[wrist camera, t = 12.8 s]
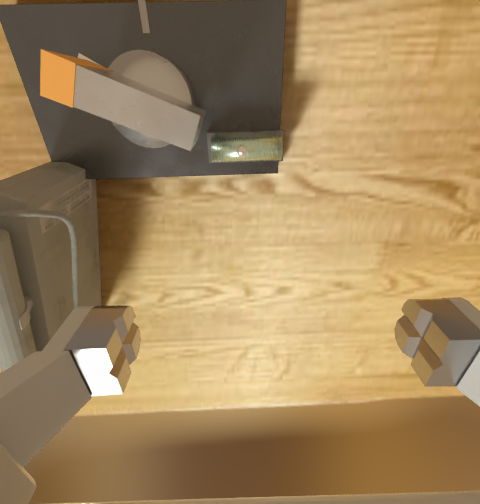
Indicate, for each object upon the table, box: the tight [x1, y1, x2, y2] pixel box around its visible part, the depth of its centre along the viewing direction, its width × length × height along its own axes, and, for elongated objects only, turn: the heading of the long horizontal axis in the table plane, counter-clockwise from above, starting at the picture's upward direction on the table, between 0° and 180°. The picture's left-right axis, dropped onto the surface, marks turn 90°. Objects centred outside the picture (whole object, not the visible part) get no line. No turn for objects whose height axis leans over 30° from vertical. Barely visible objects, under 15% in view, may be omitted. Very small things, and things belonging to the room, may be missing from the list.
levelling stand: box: [0, 0, 286, 179], centre depth 21 cm, size 20×12×5 cm, turn 91°
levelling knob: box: [40, 49, 206, 151], centre depth 18 cm, size 8×6×8 cm
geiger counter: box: [0, 161, 102, 372], centre depth 26 cm, size 14×6×25 cm
